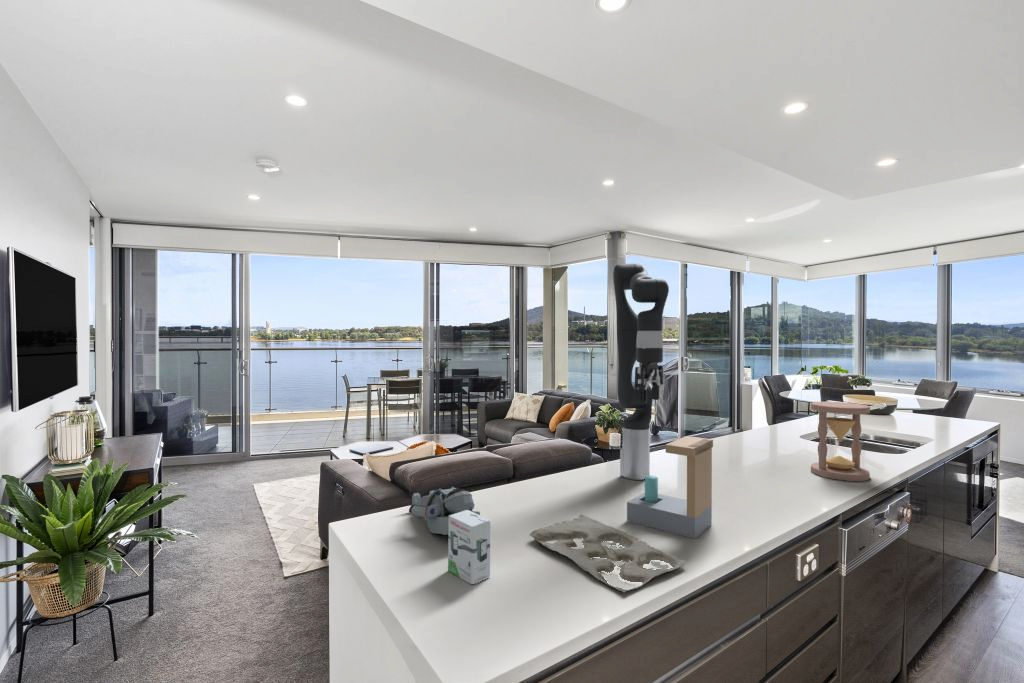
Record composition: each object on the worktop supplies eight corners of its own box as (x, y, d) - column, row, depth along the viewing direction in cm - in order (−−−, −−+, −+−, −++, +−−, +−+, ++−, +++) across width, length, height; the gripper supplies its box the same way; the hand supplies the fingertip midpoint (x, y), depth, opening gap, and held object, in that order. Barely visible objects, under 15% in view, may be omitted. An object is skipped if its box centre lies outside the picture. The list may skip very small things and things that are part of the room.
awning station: (625, 521, 129) (625, 438, 129) (648, 507, 140) (648, 431, 140) (693, 540, 117) (693, 448, 117) (712, 523, 128) (713, 439, 128)
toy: (450, 482, 143) (495, 483, 118) (453, 520, 141) (500, 530, 116) (394, 490, 135) (428, 493, 110) (396, 531, 133) (432, 544, 108)
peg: (642, 518, 132) (642, 477, 132) (648, 514, 134) (648, 474, 134) (654, 521, 129) (654, 479, 129) (659, 517, 132) (659, 477, 132)
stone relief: (623, 600, 91) (689, 569, 103) (622, 585, 91) (689, 556, 103) (522, 541, 118) (583, 522, 129) (522, 530, 118) (583, 511, 129)
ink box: (446, 570, 102) (446, 514, 102) (465, 563, 105) (465, 508, 105) (472, 586, 96) (472, 525, 95) (491, 577, 99) (491, 519, 99)
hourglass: (851, 468, 182) (851, 401, 182) (881, 482, 165) (882, 408, 165) (801, 467, 184) (801, 401, 184) (826, 480, 167) (826, 407, 167)
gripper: (648, 345, 152) (647, 397, 153) (626, 346, 141) (626, 402, 142) (671, 346, 147) (671, 399, 148) (651, 347, 137) (650, 404, 137)
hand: (649, 401), depth 145 cm, fingers open, 8 cm apart
